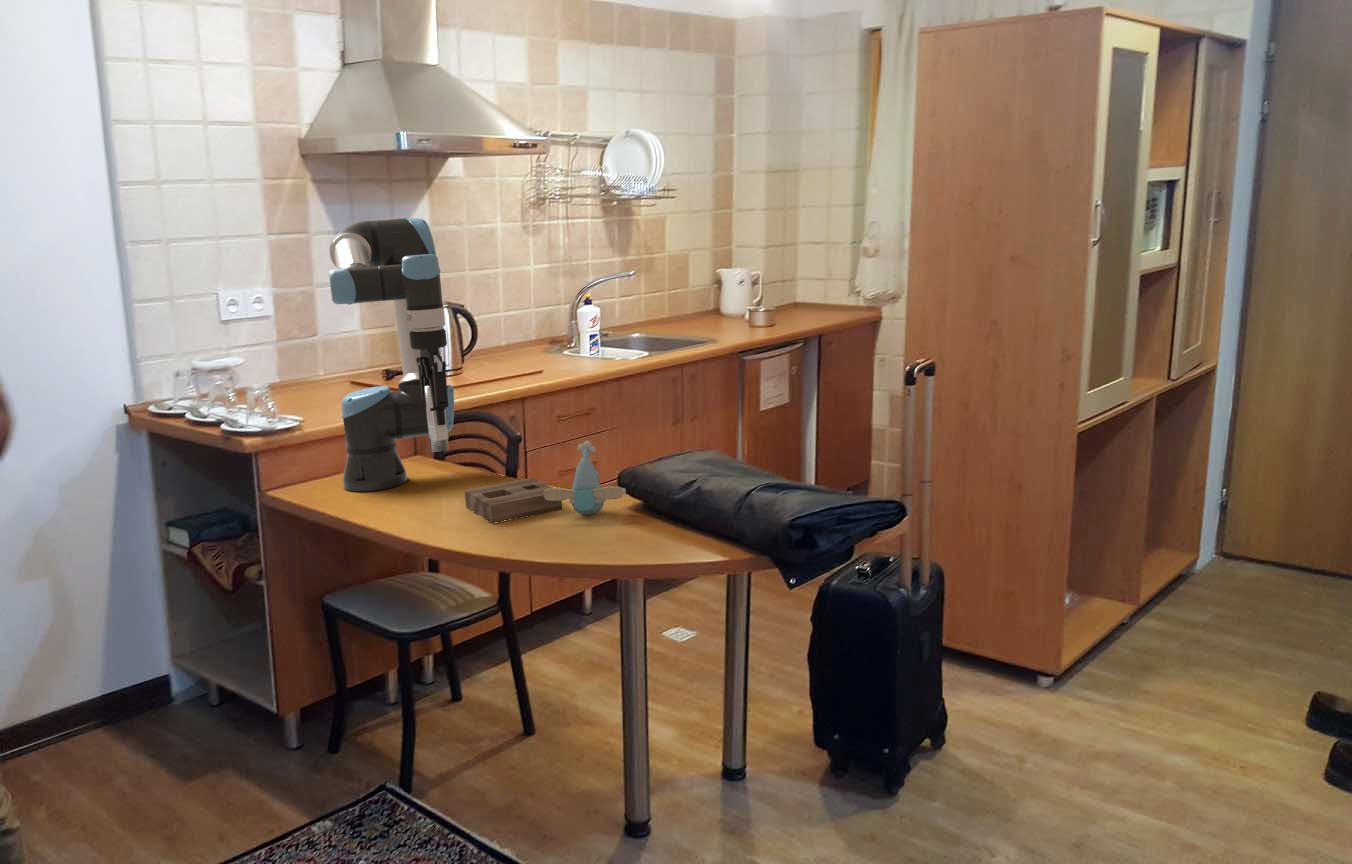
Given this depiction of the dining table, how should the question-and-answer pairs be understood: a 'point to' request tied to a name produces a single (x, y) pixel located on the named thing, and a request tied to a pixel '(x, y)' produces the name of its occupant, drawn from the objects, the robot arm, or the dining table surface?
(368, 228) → the robot arm
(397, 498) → the dining table surface
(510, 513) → the block
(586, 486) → the toy figure
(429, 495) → the dining table surface
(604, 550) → the dining table surface
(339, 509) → the dining table surface
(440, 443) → the pin
